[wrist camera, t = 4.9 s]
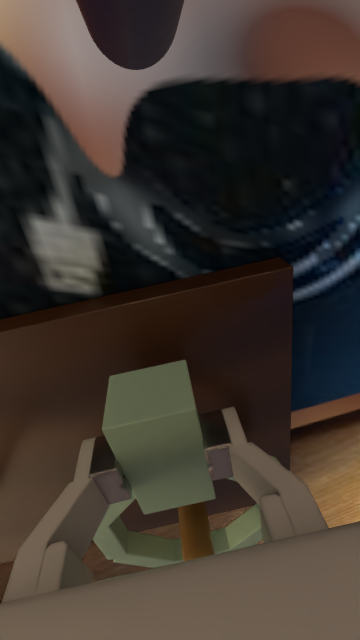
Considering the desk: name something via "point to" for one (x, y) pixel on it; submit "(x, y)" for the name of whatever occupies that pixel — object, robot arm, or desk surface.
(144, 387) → the hanging tag
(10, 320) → the peg rack
